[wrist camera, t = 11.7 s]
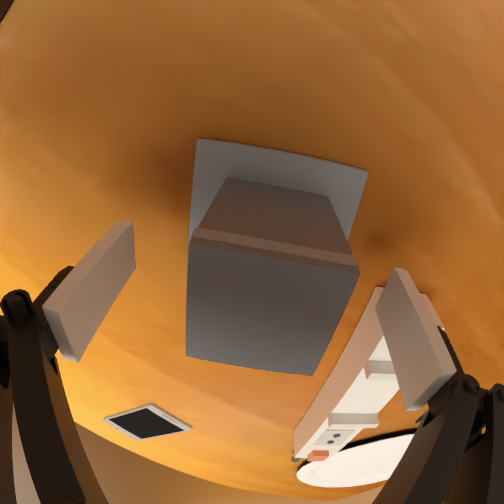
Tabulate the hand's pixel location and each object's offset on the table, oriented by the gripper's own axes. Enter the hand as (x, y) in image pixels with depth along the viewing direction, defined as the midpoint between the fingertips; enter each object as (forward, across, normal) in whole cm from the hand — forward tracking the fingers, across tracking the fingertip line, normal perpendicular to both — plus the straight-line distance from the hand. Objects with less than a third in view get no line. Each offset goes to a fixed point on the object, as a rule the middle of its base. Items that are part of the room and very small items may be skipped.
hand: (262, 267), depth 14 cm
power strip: (+5, +11, -20) cm, 23 cm away
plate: (+5, +28, -41) cm, 50 cm away
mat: (+5, 0, 0) cm, 5 cm away
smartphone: (+5, -12, -34) cm, 37 cm away
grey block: (+5, 0, 0) cm, 5 cm away
